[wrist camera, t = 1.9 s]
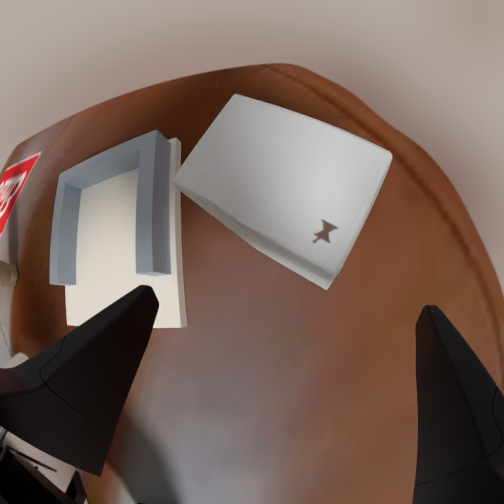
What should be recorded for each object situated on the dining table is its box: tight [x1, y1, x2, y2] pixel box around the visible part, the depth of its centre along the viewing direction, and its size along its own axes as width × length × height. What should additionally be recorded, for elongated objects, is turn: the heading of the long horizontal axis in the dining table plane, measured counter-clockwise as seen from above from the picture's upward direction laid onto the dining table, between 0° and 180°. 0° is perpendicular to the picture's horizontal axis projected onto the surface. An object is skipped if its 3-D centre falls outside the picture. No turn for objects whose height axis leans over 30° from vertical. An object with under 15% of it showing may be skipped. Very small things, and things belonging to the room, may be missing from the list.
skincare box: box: [172, 94, 392, 290], centre depth 13 cm, size 6×4×12 cm
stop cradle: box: [50, 130, 187, 328], centre depth 22 cm, size 16×14×4 cm
